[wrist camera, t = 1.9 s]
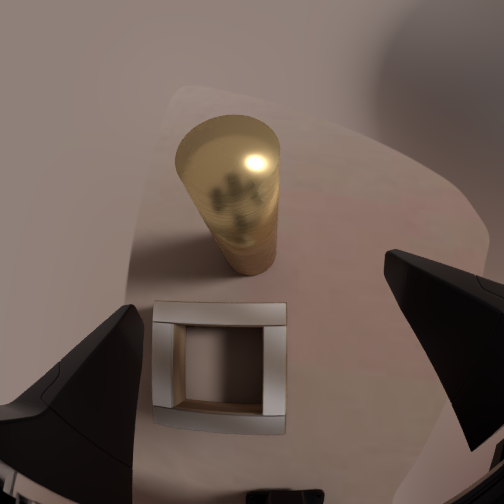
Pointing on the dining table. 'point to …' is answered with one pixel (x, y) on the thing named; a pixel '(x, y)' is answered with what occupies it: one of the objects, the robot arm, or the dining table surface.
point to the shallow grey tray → (173, 368)
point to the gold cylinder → (235, 187)
